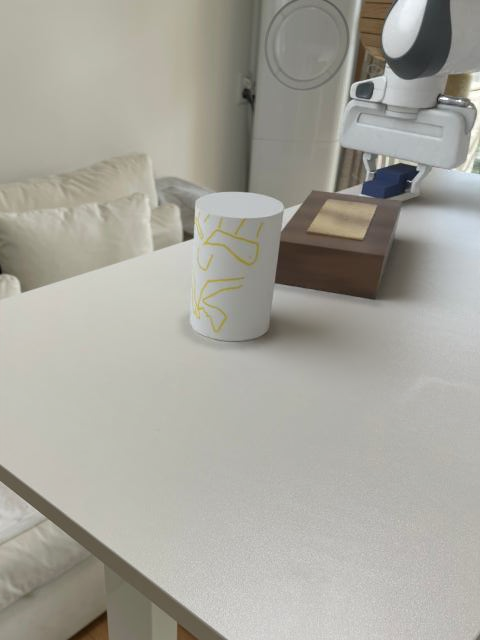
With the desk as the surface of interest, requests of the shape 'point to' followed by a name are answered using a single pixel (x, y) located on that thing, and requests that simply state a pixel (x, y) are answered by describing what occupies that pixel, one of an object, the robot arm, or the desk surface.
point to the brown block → (338, 243)
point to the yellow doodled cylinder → (234, 264)
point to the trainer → (391, 183)
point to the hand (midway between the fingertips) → (391, 187)
